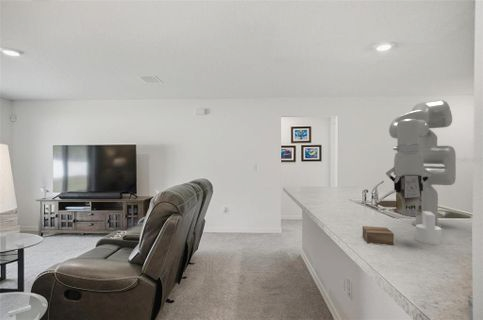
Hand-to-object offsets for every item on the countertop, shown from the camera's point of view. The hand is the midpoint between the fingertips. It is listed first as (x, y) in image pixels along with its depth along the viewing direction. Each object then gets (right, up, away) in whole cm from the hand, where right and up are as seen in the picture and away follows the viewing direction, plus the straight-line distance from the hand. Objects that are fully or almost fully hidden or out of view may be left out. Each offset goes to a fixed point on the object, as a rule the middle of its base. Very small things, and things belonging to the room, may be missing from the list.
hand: (408, 192), depth 106 cm
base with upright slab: (+12, -22, +5) cm, 26 cm away
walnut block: (-10, -22, +6) cm, 25 cm away
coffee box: (0, -9, 0) cm, 9 cm away
